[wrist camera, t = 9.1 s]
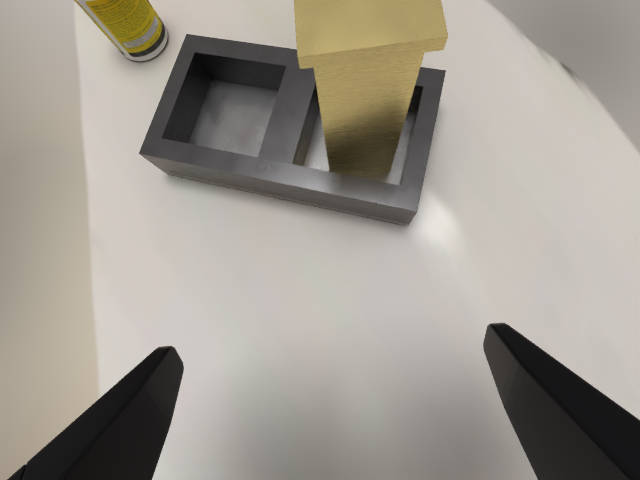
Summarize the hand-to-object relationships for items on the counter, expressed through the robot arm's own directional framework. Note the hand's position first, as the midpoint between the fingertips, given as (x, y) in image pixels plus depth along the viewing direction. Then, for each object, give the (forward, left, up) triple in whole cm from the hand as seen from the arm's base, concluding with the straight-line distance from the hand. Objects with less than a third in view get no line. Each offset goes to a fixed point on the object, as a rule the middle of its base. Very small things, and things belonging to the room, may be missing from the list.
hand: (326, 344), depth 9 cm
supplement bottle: (+20, +24, -14) cm, 34 cm away
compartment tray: (+13, +7, -13) cm, 20 cm away
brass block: (+13, +2, -13) cm, 18 cm away
